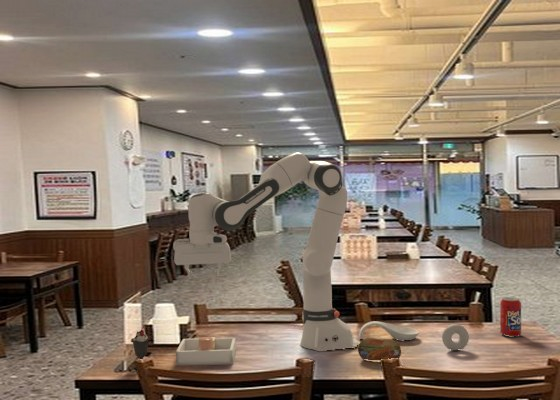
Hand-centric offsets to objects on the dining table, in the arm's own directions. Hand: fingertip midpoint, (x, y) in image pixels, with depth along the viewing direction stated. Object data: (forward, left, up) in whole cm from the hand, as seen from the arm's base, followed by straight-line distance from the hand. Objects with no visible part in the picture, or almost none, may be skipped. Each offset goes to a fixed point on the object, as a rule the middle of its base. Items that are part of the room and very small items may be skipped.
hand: (203, 276), depth 206 cm
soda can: (-120, -22, -31) cm, 126 cm away
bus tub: (0, -3, -31) cm, 31 cm away
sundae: (+22, +6, -31) cm, 38 cm away
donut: (-92, -4, -31) cm, 97 cm away
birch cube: (0, -7, -30) cm, 31 cm away
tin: (-62, +6, -31) cm, 70 cm away
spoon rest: (-71, -21, -31) cm, 80 cm away
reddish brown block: (0, 0, -30) cm, 30 cm away
